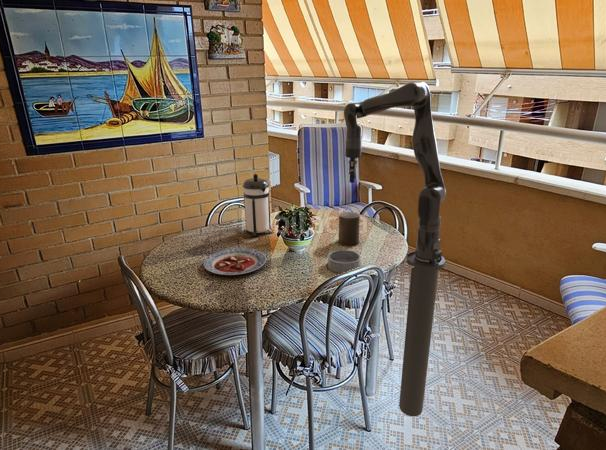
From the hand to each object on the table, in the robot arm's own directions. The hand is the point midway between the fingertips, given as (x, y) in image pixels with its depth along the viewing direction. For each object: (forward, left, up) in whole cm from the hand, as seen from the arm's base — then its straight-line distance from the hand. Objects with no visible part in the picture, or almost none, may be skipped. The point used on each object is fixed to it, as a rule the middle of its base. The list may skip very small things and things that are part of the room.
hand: (352, 180), depth 198 cm
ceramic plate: (+7, +65, -27) cm, 70 cm away
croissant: (+13, +20, -27) cm, 36 cm away
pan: (-25, +33, -26) cm, 49 cm away
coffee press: (+33, +35, -27) cm, 55 cm away
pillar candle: (-9, +12, -27) cm, 30 cm away
